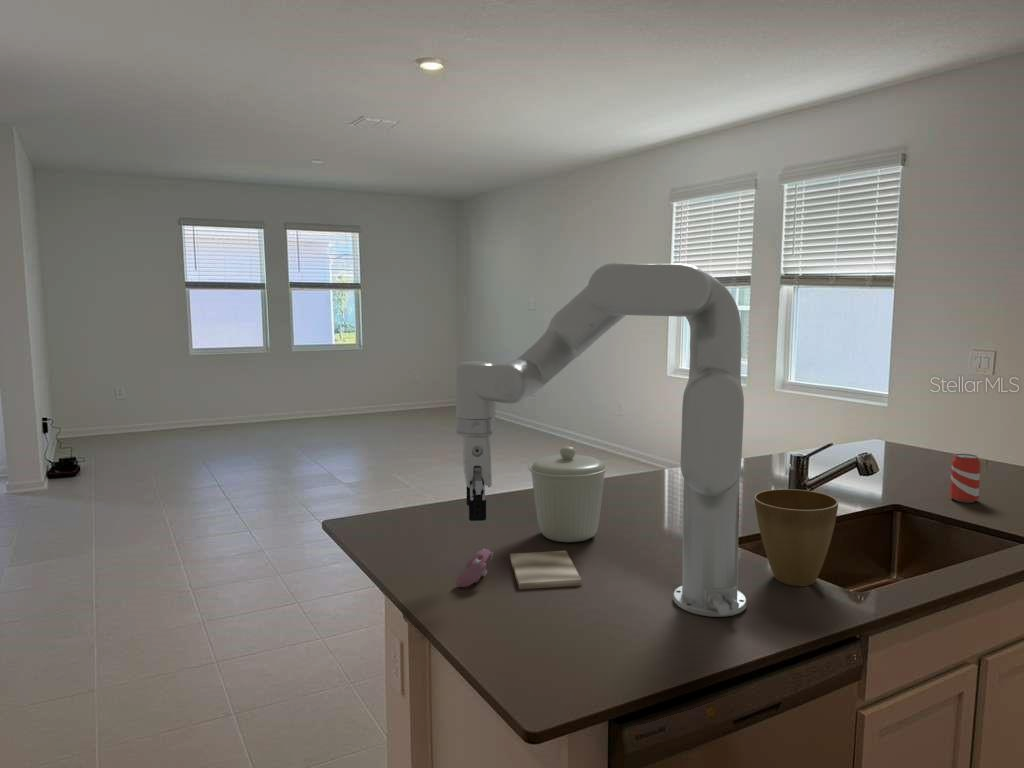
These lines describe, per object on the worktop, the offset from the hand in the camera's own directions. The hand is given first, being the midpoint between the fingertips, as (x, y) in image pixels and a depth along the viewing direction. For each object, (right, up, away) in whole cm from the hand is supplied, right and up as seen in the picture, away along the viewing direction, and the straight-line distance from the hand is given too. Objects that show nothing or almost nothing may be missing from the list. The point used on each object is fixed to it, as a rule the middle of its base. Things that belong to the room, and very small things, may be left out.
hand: (476, 512), depth 138 cm
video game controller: (0, -14, +1) cm, 14 cm away
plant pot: (+61, -13, -1) cm, 63 cm away
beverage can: (+126, -6, +49) cm, 136 cm away
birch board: (+14, -13, +5) cm, 19 cm away
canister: (+20, -10, +26) cm, 35 cm away
